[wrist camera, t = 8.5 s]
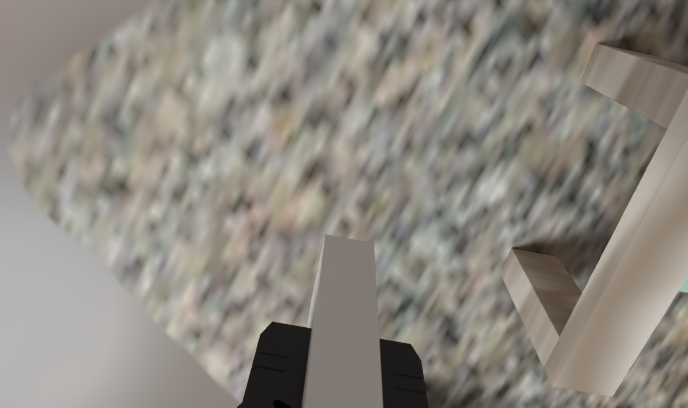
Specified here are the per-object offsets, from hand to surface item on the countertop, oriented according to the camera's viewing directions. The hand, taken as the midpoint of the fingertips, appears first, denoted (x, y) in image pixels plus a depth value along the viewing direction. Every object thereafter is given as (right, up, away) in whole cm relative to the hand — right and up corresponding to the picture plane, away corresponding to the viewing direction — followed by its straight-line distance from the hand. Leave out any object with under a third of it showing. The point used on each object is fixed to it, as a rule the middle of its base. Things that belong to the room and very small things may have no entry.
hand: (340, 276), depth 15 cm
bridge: (+13, +4, +13) cm, 19 cm away
